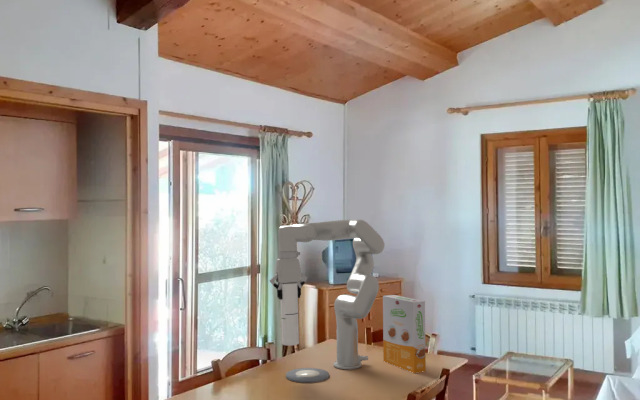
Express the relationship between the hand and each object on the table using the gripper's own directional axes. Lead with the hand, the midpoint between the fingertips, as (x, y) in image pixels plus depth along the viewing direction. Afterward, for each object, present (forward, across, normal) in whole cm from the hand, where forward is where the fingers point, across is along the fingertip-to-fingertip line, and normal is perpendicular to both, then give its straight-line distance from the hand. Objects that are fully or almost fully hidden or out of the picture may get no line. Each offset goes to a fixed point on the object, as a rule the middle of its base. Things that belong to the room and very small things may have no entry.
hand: (289, 297), depth 229 cm
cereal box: (+35, -52, +2) cm, 63 cm away
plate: (+33, -7, 0) cm, 34 cm away
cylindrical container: (+19, 0, 0) cm, 19 cm away
